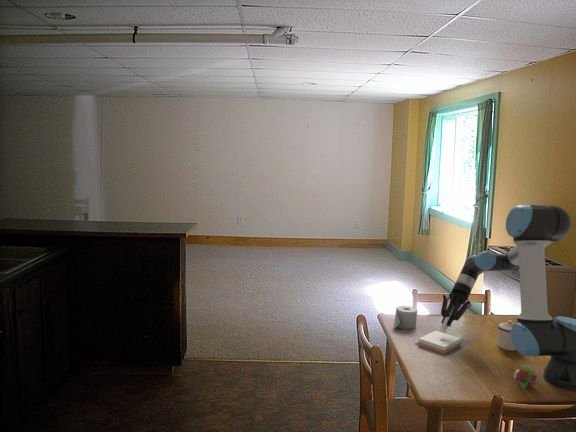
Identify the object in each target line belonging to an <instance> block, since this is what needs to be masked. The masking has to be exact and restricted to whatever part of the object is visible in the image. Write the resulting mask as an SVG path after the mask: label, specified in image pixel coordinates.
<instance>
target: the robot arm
mask: <svg viewBox="0 0 576 432" xmlns="http://www.w3.org/2000/svg"><path fill="white" fill-rule="evenodd" d="M572 223H573V221H572V218H571V215H570V214H569V212H568V211H567V210H566V209H564V208H563V207H560V206H557V205H551V204H550V205H544V204H543V205H542V204H541V205H540V204H522V205H516V206H514V207H513V208H511V209H510V211H509V212H508V213H507V217H506V219H505V231H506V233H507V234H508V236H509V237H511V238H513V243H514V244H515V246H513V247H512V248H511V249H510V250H509V251H507V252H506V253H493V252H491V251H488V250H483V251H481V252H479V253H478V254H477V255H475V254H474V255H469V256H468V257H467V259H466V260H465V261H464V265H463V266H462V269H461V270H460V273H459V275H458V276H457V278H456V281H455V283H454V285H453V287H452V289H451V292H450V293H449V294H448V295H445V294H443V295H442V299H443V300H442V304H441V310H440V315H441V316H442V319H441V326H440V327H439V330H440V331H439V332H442V333H446V332H447V330H448V328H449V327H451V325H452V324H453V321H459V320H460V319H461V318H462V316H463V315H464V314H465V313H466V311H467V309H469V308H471V307H472V303H471V301H470V300H469V297H470V295H471V293H472V290H473V288H474V286H475V284H476V282H477V281H478V277H479V276H480V275H481V274H483V273H485V272H517V271H518V272H519V292H520V293H519V294H520V311H521V312H520V314H518V315H517V316H516V322H515V323H514V324H513V325H512V328H511V331H510V334H511V339H512V342H513V345H514V347H515V348H516V350H515V351H517V352H518V353H519V354H520V355H522V356H526V357H534V358H536V357H545V356H546V357H549V360H548V362H547V364H546V366H545V368H544V370H543V374H542V375H543V378H544V380H545V381H546V382H548V383H550V384H551V385H553V386H555V385H556V386H555V387H558V388H561V387H562V388H561V389H564V388H566V389H565V390H569V389H570V390H569V391H576V318H572V317H569V316H568V317H567V316H561V315H558V316H555V317H554V318H553V317H552V316H551V315H550V314H549V311H548V310H549V309H548V292H547V275H546V273H547V271H546V256H545V255H546V253H545V248H547V247H548V246H549V245H551V244H552V243H557V242H559V241H561V240H562V239H564V238H566V236H567V235H568V234H569V233H570V231H571V230H572V229H571V228H572V226H573V224H572Z"/></svg>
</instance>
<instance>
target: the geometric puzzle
mask: <svg viewBox="0 0 576 432" xmlns="http://www.w3.org/2000/svg"><path fill="white" fill-rule="evenodd" d="M513 378H514V380H515V381H517V382H518V384H519V385H520V386H521V387H522V388H523V389H524V390H526V389H528V388H531V387H534V386H535V385H536V381H537V378H538V375H536V374H535V372H534V371H533V370H531V369H530V368H529V367H528V366H527V367H525V369H522V368H520V369H516V370H515V371H514V374H513ZM537 382H538V381H537ZM527 386H528V387H527Z"/></svg>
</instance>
